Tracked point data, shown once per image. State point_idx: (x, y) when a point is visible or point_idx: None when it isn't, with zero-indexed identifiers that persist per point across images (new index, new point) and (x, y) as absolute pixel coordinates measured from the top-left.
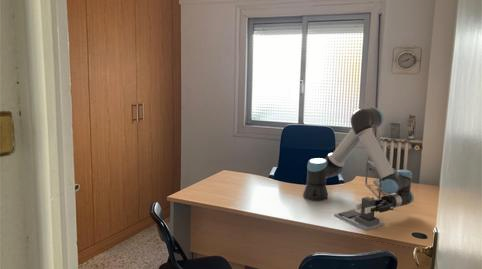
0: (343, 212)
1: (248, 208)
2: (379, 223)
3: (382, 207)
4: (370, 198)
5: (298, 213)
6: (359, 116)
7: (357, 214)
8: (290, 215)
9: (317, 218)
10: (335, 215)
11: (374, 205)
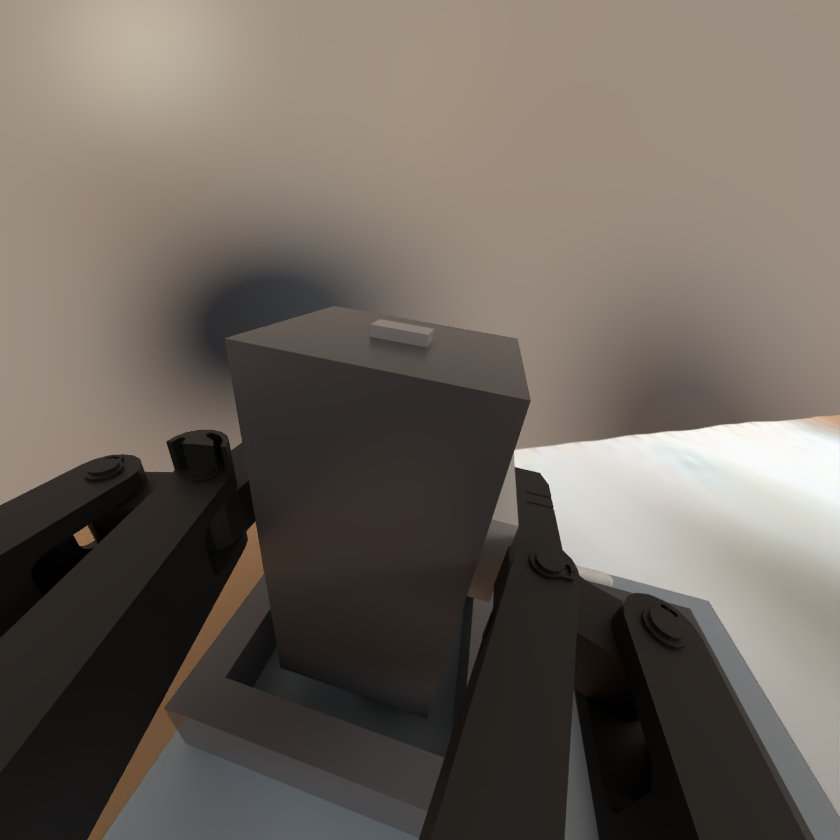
0: (732, 691)
1: (816, 434)
2: (181, 756)
3: (33, 500)
4: (377, 354)
5: (759, 494)
6: None
7: None
8: (719, 458)
9: (654, 497)
10: (684, 599)
11: (258, 471)
